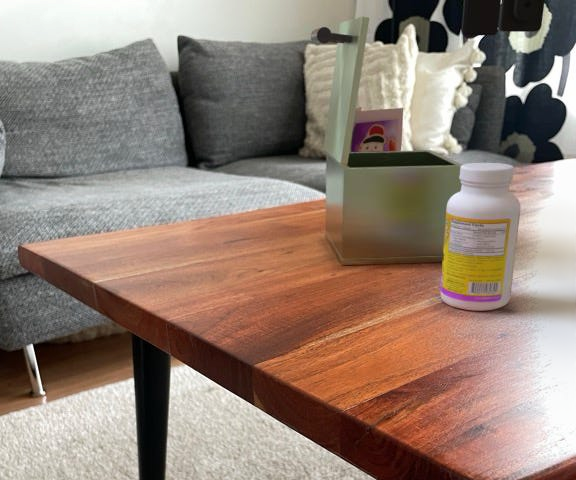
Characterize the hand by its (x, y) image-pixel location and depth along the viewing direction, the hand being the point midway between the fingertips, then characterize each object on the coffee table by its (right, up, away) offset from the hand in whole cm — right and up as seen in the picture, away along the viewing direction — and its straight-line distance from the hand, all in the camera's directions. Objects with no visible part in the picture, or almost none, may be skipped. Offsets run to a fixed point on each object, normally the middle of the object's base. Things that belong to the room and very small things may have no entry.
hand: (497, 33), depth 60 cm
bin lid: (-11, +4, +21) cm, 24 cm away
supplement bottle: (0, -22, +10) cm, 24 cm away
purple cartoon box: (-7, -4, +49) cm, 49 cm away
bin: (-5, -13, +30) cm, 32 cm away
